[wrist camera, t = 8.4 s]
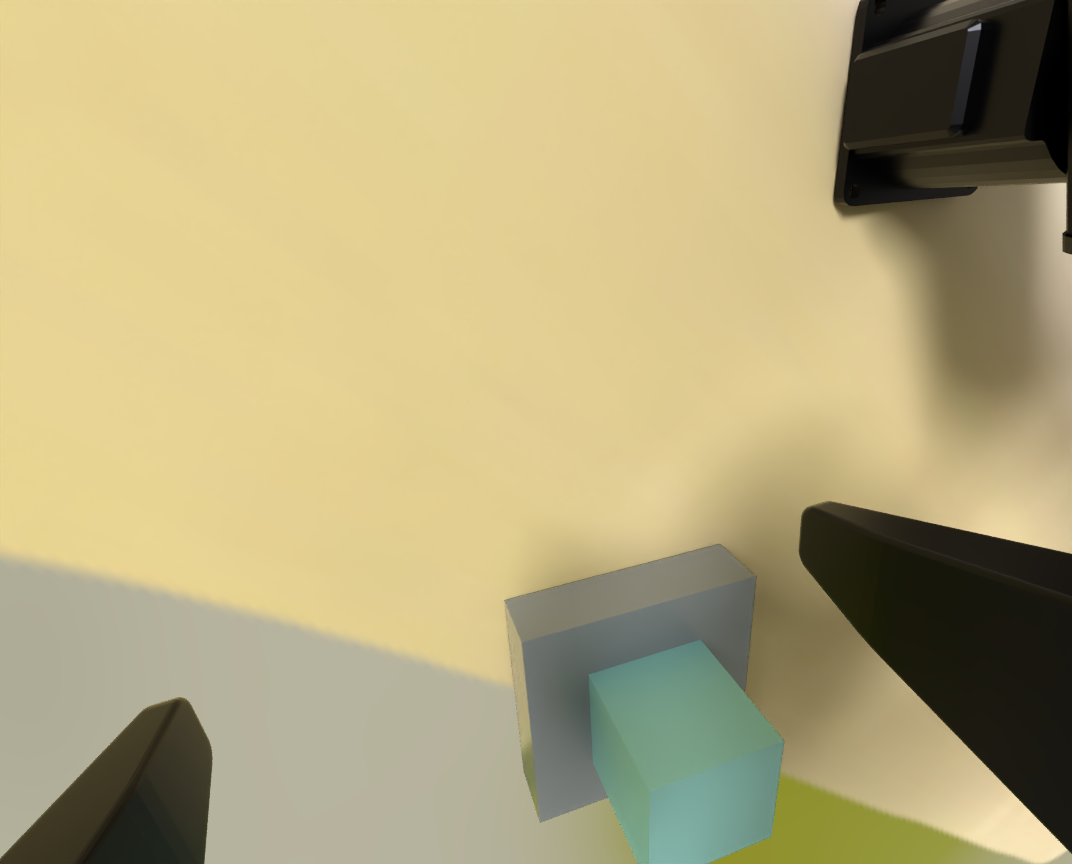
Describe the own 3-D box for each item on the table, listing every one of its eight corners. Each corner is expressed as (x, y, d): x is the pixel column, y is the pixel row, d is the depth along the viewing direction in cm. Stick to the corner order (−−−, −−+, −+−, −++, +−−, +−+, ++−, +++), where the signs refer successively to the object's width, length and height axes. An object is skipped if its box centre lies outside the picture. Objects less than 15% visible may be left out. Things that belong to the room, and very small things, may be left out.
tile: (720, 543, 25) (756, 575, 23) (709, 707, 29) (739, 748, 27) (504, 600, 23) (521, 642, 20) (523, 771, 26) (539, 822, 24)
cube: (700, 639, 23) (784, 740, 19) (696, 726, 25) (771, 836, 21) (588, 674, 22) (649, 791, 18) (593, 763, 24) (649, 888, 20)
